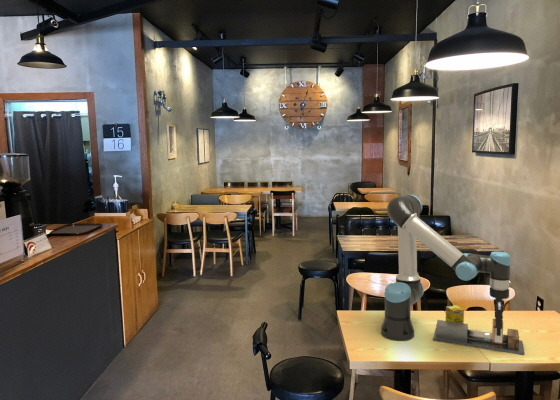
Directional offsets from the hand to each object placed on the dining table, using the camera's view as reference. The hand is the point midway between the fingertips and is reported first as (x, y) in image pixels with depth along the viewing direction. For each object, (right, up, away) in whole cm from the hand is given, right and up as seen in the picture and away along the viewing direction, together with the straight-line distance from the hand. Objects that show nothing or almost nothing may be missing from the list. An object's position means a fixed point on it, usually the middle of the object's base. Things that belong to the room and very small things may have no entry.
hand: (497, 337), depth 184 cm
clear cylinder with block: (-4, -2, +2) cm, 5 cm away
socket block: (+5, -3, -2) cm, 6 cm away
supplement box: (-12, -2, +18) cm, 21 cm away
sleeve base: (-7, -3, +4) cm, 9 cm away
